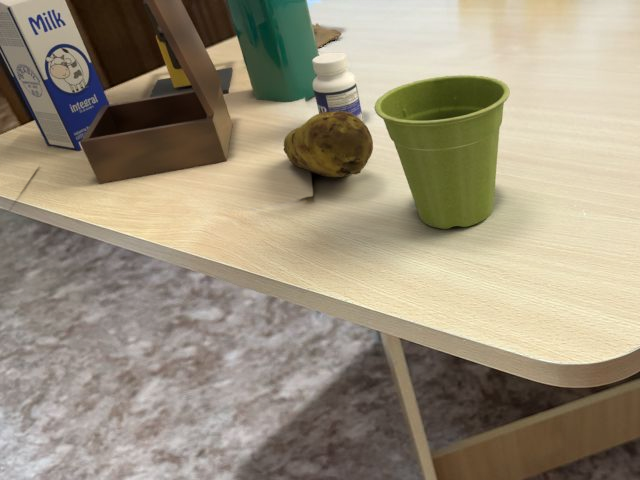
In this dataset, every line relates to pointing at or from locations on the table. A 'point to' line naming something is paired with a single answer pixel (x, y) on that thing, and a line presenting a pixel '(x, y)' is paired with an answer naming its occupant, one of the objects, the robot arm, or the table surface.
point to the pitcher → (276, 47)
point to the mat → (167, 86)
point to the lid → (188, 50)
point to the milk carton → (51, 69)
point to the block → (175, 74)
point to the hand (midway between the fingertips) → (183, 62)
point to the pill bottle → (335, 85)
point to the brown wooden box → (156, 136)
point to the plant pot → (447, 144)
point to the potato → (330, 144)
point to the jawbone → (324, 35)
